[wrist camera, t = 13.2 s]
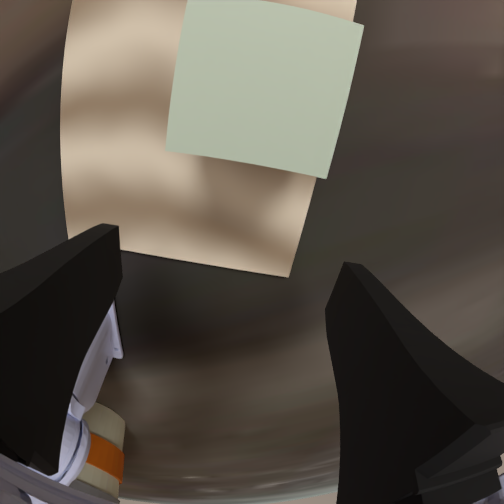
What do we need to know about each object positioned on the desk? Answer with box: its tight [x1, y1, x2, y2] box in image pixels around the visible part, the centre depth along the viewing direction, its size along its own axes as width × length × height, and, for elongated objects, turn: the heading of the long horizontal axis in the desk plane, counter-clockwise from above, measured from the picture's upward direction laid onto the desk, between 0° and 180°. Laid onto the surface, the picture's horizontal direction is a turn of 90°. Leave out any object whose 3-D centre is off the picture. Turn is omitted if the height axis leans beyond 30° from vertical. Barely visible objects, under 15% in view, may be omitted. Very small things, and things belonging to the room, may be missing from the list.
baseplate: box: [60, 0, 357, 277], centre depth 16 cm, size 18×16×1 cm
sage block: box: [165, 0, 364, 179], centre depth 9 cm, size 4×4×4 cm
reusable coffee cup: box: [68, 402, 125, 504], centre depth 31 cm, size 13×12×15 cm
